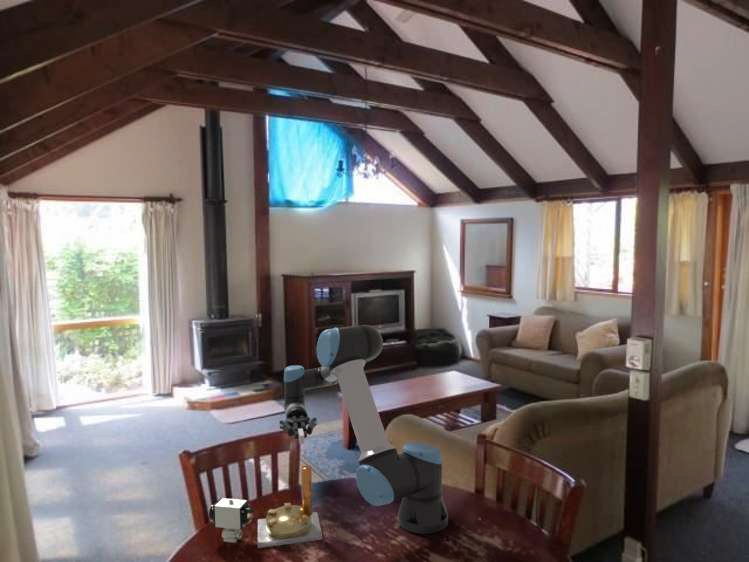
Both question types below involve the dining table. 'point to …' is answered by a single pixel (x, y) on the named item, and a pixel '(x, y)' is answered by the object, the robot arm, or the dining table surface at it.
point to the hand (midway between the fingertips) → (301, 439)
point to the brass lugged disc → (293, 512)
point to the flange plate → (269, 540)
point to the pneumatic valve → (231, 517)
